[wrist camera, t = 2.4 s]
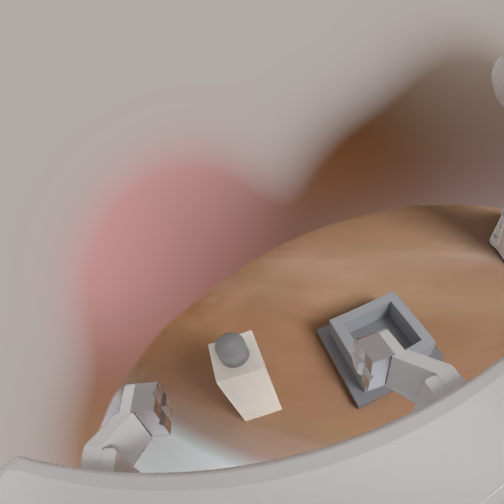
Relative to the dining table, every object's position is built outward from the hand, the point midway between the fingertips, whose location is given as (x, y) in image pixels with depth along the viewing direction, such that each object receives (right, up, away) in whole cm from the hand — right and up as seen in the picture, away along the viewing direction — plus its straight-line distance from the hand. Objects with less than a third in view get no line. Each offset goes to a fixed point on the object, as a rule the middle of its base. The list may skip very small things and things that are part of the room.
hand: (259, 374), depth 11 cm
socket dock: (+18, -9, +26) cm, 33 cm away
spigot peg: (+1, -15, +24) cm, 29 cm away
